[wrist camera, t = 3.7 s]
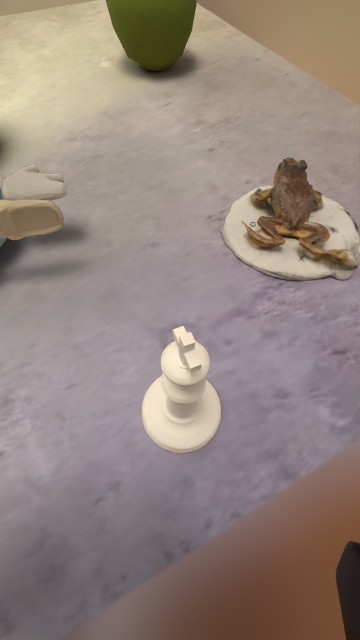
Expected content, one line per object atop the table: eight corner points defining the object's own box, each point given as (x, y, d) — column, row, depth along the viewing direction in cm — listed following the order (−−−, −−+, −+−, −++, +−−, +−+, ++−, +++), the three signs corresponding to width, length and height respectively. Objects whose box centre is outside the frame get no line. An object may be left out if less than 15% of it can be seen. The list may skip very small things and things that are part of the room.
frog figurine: (214, 186, 31) (219, 147, 27) (337, 185, 31) (357, 147, 28) (226, 282, 25) (234, 248, 22) (377, 280, 25) (407, 247, 22)
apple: (140, 41, 46) (132, -64, 38) (206, 57, 44) (214, -51, 36) (99, 73, 41) (80, -40, 33) (171, 92, 39) (171, -24, 31)
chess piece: (158, 467, 18) (144, 435, 10) (131, 389, 20) (100, 306, 12) (234, 432, 19) (285, 375, 11) (200, 362, 21) (219, 267, 13)
